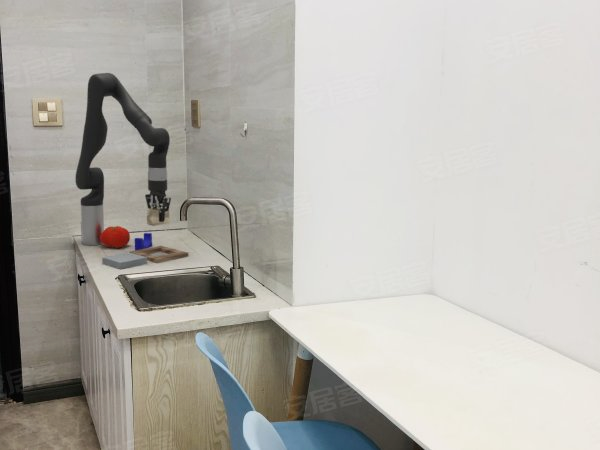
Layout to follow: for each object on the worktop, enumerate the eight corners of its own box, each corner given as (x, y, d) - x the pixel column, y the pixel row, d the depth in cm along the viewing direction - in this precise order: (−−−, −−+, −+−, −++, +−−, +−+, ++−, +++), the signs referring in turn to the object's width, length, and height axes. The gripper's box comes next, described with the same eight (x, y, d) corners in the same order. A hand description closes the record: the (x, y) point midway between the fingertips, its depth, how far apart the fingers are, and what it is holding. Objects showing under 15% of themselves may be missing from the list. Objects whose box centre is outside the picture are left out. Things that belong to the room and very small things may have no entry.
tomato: (98, 244, 271) (97, 225, 270) (127, 242, 276) (127, 223, 275) (102, 251, 260) (101, 231, 258) (132, 248, 265) (132, 229, 264)
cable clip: (142, 246, 271) (141, 232, 270) (152, 246, 271) (151, 233, 270) (131, 252, 260) (131, 238, 259) (141, 253, 259) (141, 238, 258)
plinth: (102, 263, 240) (102, 257, 240) (128, 258, 249) (128, 252, 249) (120, 269, 233) (120, 262, 232) (147, 263, 242) (147, 257, 241)
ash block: (147, 224, 250) (146, 209, 249) (163, 221, 256) (162, 207, 255) (153, 225, 248) (153, 211, 247) (169, 223, 254) (169, 208, 253)
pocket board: (129, 255, 254) (129, 251, 254) (160, 249, 266) (160, 245, 266) (156, 263, 243) (156, 259, 242) (188, 256, 255) (188, 252, 254)
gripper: (138, 177, 250) (139, 219, 253) (161, 181, 241) (161, 224, 244) (154, 176, 256) (154, 217, 259) (176, 179, 247) (176, 222, 250)
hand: (158, 220), depth 252 cm, fingers closed on ash block, 4 cm apart
